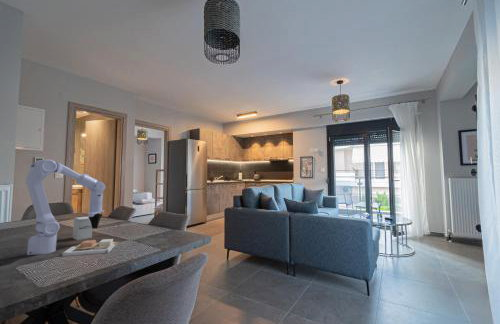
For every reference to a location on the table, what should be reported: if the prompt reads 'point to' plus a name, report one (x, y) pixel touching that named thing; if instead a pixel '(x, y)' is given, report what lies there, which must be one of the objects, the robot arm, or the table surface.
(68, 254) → the grey tray
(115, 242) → the oak board
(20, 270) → the table surface
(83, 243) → the terracotta tile
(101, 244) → the cream tile
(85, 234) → the supplement box
